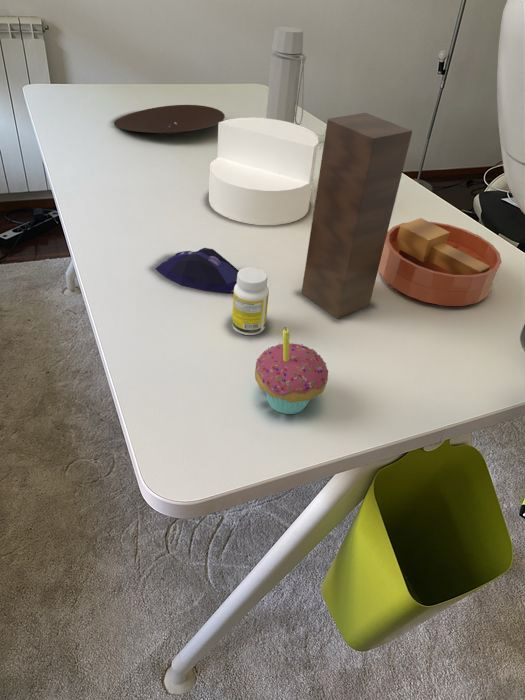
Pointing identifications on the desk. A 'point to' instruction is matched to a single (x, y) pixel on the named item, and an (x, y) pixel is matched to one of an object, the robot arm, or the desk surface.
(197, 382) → the desk surface
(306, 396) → the cupcake
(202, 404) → the desk surface
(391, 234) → the bowl
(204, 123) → the plate
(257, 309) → the supplement bottle
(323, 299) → the stand
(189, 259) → the computer mouse
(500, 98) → the robot arm
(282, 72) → the water bottle
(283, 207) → the white stepped cylinder
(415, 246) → the wooden t-shaped block
